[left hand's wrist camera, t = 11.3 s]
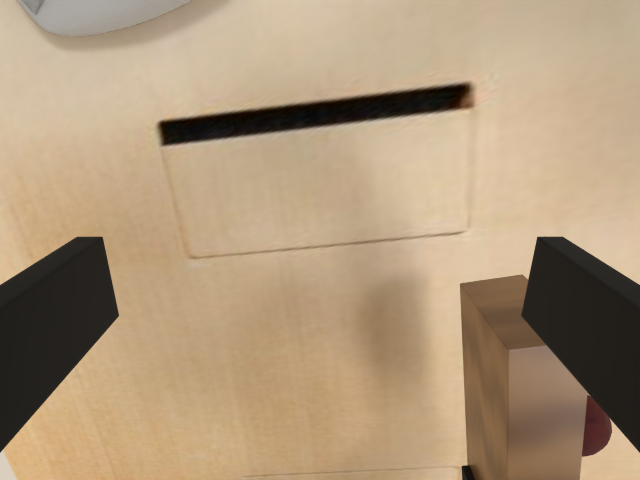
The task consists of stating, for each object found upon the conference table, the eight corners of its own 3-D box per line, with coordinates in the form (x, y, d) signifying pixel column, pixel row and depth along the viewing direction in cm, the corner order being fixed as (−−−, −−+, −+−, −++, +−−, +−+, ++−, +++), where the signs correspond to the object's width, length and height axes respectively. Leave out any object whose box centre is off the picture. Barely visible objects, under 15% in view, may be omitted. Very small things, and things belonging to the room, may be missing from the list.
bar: (459, 283, 31) (508, 350, 23) (522, 274, 31) (593, 338, 23) (468, 492, 39) (506, 596, 31) (518, 487, 39) (569, 589, 31)
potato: (530, 425, 55) (558, 471, 49) (537, 380, 53) (568, 422, 46) (584, 422, 55) (619, 468, 49) (594, 377, 52) (633, 419, 46)
